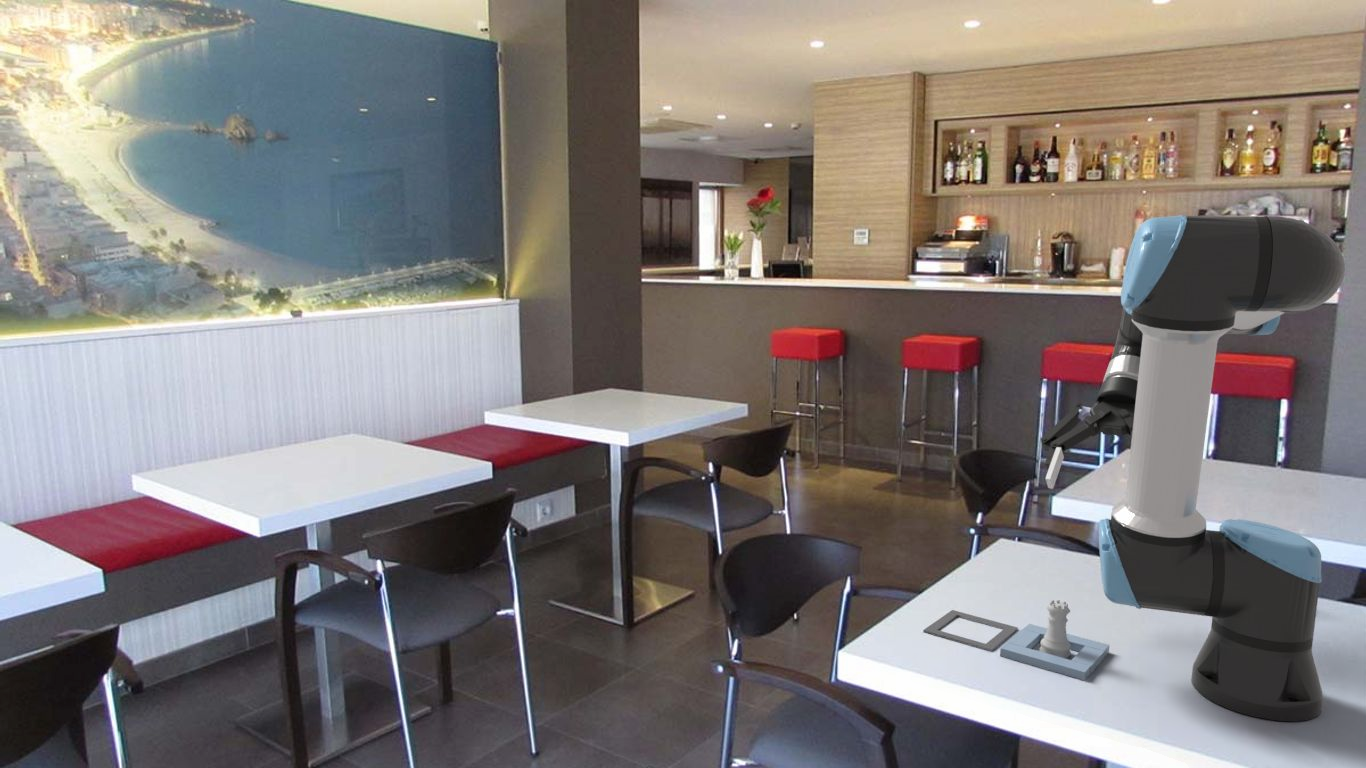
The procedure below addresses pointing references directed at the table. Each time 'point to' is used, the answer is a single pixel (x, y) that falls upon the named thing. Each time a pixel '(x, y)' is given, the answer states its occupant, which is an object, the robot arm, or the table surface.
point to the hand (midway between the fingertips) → (1092, 490)
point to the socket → (1077, 667)
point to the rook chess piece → (1056, 631)
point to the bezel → (988, 646)
